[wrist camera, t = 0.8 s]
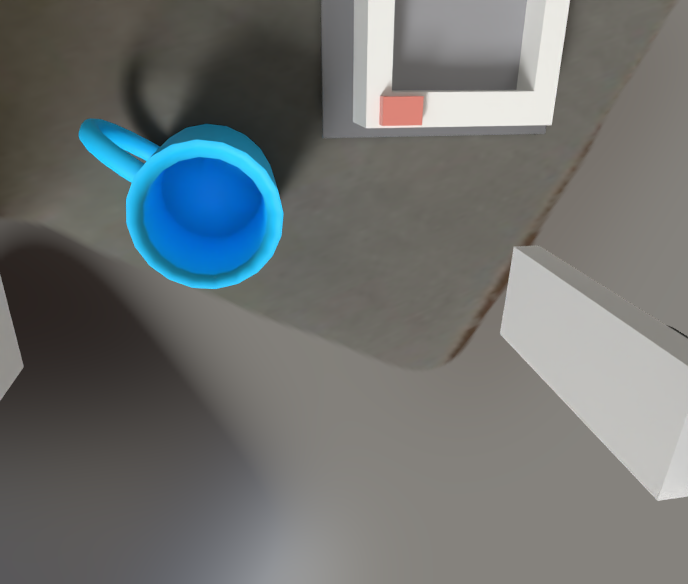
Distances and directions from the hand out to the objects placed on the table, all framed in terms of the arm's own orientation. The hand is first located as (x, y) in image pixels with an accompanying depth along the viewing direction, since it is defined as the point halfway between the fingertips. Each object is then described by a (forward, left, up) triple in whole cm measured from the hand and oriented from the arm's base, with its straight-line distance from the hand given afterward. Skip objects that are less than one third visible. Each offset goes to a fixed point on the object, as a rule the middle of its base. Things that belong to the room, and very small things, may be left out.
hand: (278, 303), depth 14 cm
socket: (-10, +13, -24) cm, 29 cm away
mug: (+1, -4, -24) cm, 24 cm away
